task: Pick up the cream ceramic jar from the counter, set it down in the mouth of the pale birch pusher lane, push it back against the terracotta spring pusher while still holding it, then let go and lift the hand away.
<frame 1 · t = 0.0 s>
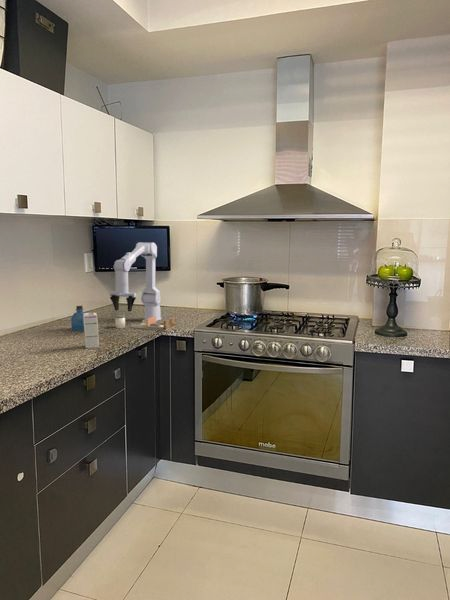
hand: (123, 310, 229), 10 cm above the worktop, fingers open, 7 cm apart
perfume bottle: (80, 329, 232), on the worktop
pusher: (154, 321, 238), point 3 cm above the worktop, slide at 0.0 cm
jar: (120, 327, 238), on the worktop
syrup box: (91, 346, 198), on the worktop
lane: (153, 326, 239), on the worktop
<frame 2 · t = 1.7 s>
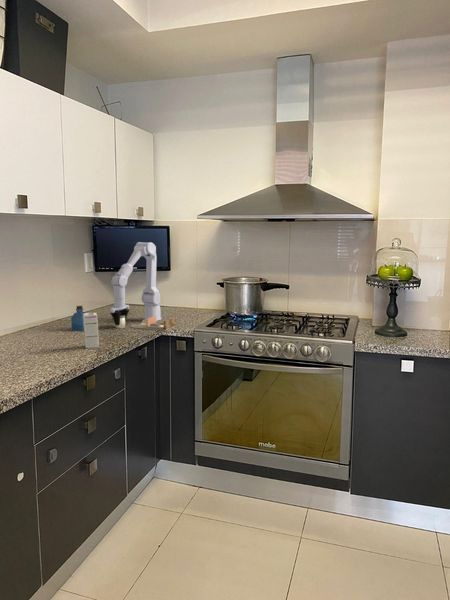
hand: (120, 324, 238), 2 cm above the worktop, fingers closed on jar, 5 cm apart
jar: (120, 327, 238), on the worktop, touching gripper
everything else where it was.
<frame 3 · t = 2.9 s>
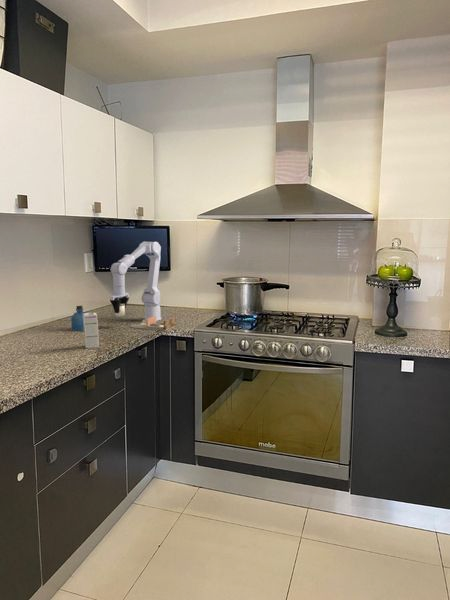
hand: (120, 312, 237), 8 cm above the worktop, fingers closed on jar, 5 cm apart
jar: (120, 315, 237), point 6 cm above the worktop, touching gripper
everything else where it was.
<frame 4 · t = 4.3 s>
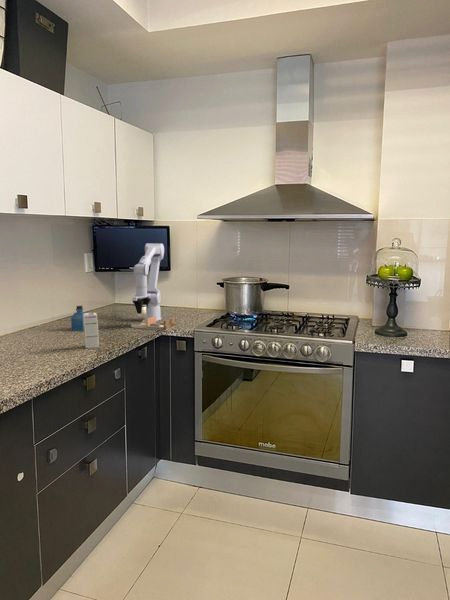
hand: (142, 312, 240), 7 cm above the worktop, fingers closed on jar, 5 cm apart
jar: (141, 316, 240), point 5 cm above the worktop, touching gripper
everything else where it was.
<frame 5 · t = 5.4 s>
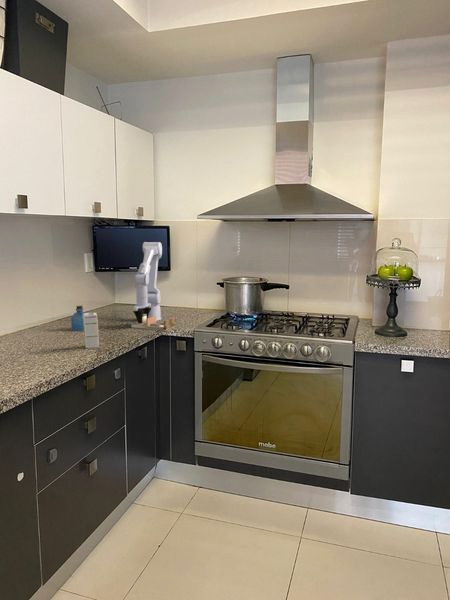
hand: (142, 322, 241), 2 cm above the worktop, fingers closed on jar, 5 cm apart
jar: (141, 325, 241), resting on lane, touching gripper
everything else where it was.
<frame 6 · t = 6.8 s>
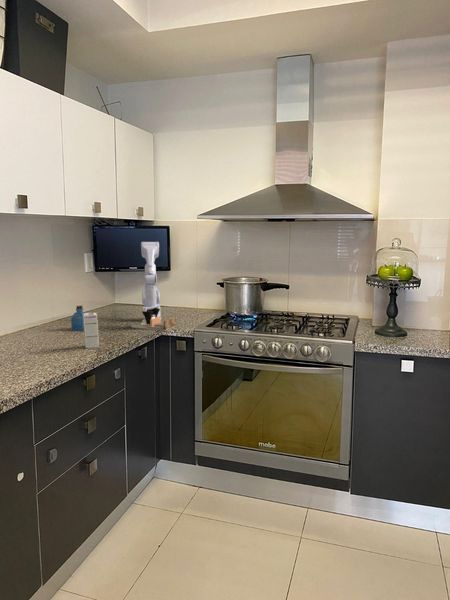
hand: (151, 322, 239), 2 cm above the worktop, fingers closed on jar, 5 cm apart
pusher: (158, 322, 237), point 3 cm above the worktop, slide at 2.5 cm, touching jar
jar: (150, 325, 239), resting on lane, touching gripper, pusher
everything else where it was.
when the fingers open (2 cm above the worktop, at t = 7.0 s): jar stays where it is, resting on lane, pusher.
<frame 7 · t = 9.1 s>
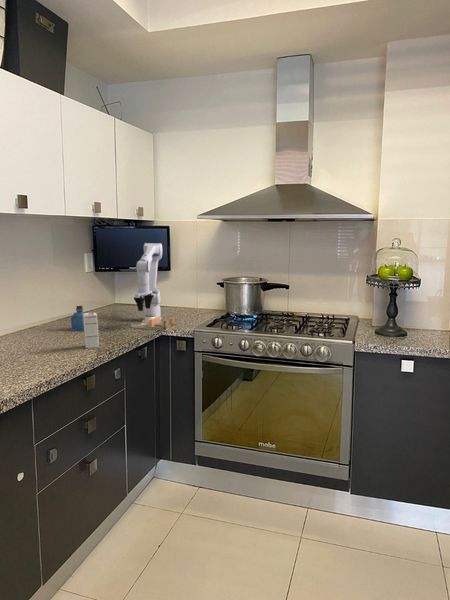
hand: (144, 309, 239), 9 cm above the worktop, fingers open, 7 cm apart
jar: (150, 326, 239), resting on lane, pusher
everything else where it was.
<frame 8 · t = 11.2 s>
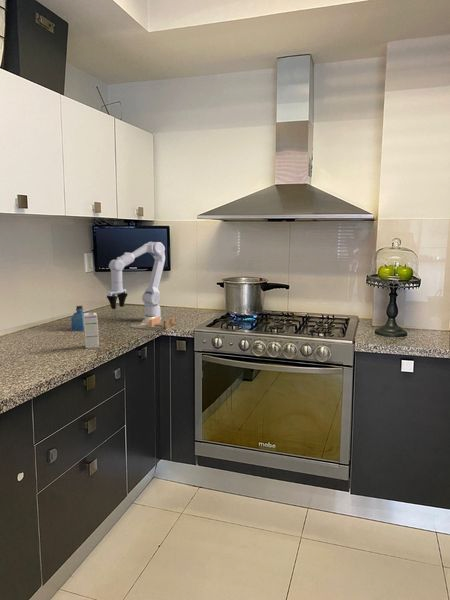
hand: (117, 307, 241), 9 cm above the worktop, fingers open, 7 cm apart
pusher: (158, 322, 237), point 3 cm above the worktop, slide at 2.4 cm
jar: (150, 326, 239), resting on lane
everything else where it was.
at the end: jar 0.6 cm from the target spot, resting on lane; jar tilted 0°; pusher slide at 2.4 cm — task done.
